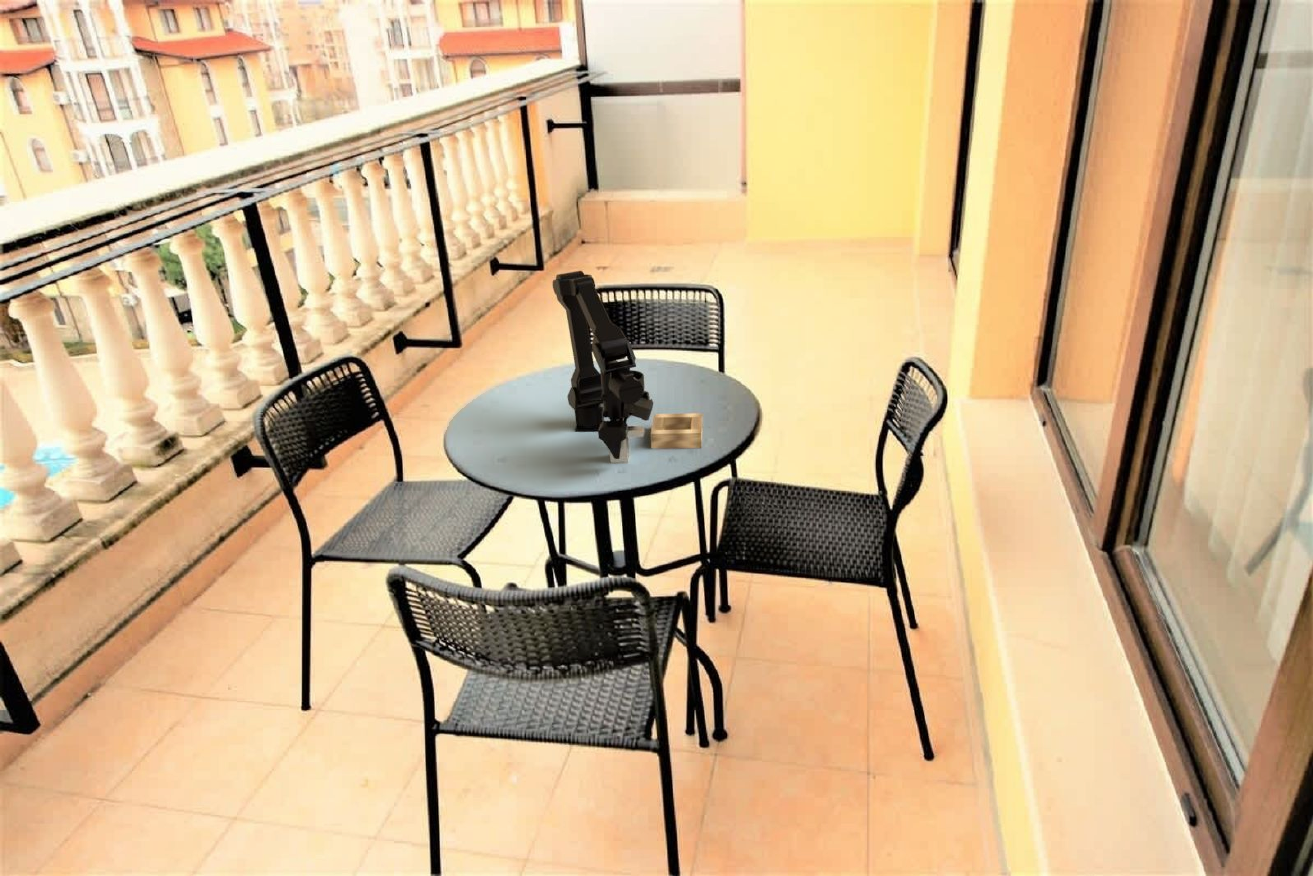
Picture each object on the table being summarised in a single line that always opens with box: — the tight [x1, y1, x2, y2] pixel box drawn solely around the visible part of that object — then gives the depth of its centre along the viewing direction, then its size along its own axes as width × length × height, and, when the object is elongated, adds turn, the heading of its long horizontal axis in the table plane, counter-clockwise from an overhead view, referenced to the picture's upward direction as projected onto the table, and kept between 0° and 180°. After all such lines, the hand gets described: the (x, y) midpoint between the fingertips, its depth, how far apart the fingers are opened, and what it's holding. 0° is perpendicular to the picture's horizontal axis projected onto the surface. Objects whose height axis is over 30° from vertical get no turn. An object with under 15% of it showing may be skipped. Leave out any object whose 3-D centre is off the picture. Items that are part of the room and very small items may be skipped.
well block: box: [650, 412, 704, 450], centre depth 205 cm, size 12×11×4 cm
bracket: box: [609, 425, 645, 464], centre depth 196 cm, size 8×4×8 cm, turn 86°
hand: (619, 449), depth 197 cm, fingers open, 9 cm apart
